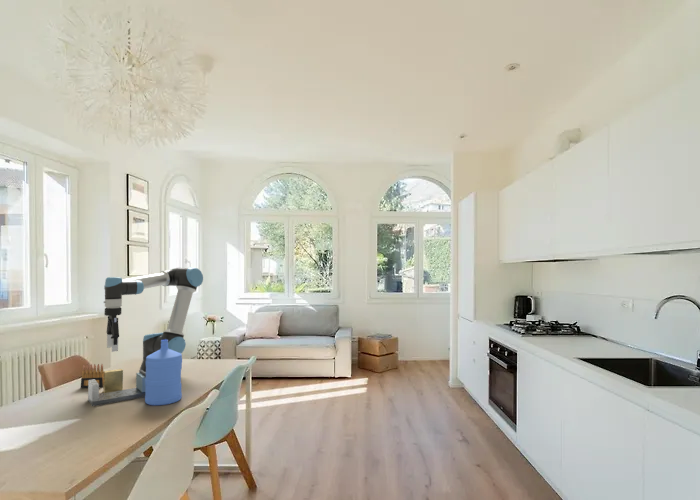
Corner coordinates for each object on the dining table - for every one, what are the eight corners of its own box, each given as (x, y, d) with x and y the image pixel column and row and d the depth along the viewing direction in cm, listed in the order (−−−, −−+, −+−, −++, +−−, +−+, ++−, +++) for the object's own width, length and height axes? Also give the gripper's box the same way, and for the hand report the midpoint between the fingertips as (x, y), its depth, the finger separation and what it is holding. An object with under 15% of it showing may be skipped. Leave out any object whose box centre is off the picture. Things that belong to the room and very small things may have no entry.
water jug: (168, 407, 184) (169, 343, 185) (137, 405, 187) (138, 342, 189) (188, 396, 199) (189, 337, 201) (159, 394, 203) (160, 337, 204)
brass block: (120, 388, 214) (121, 368, 215) (122, 390, 211) (122, 370, 211) (103, 391, 209) (103, 371, 209) (104, 393, 206) (104, 372, 206)
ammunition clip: (104, 386, 218) (104, 363, 219) (102, 387, 216) (103, 364, 217) (82, 387, 217) (82, 364, 217) (80, 388, 215) (81, 364, 215)
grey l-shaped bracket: (147, 389, 211) (148, 371, 212) (154, 395, 202) (154, 375, 202) (88, 400, 195) (88, 380, 195) (92, 406, 185) (92, 385, 186)
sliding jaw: (144, 385, 210) (145, 368, 211) (151, 390, 201) (151, 373, 201) (136, 387, 208) (136, 370, 208) (142, 392, 199) (142, 374, 199)
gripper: (100, 306, 219) (100, 346, 218) (108, 309, 200) (108, 354, 199) (116, 305, 224) (116, 345, 223) (126, 308, 205) (125, 352, 204)
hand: (112, 349), depth 211 cm, fingers open, 13 cm apart
